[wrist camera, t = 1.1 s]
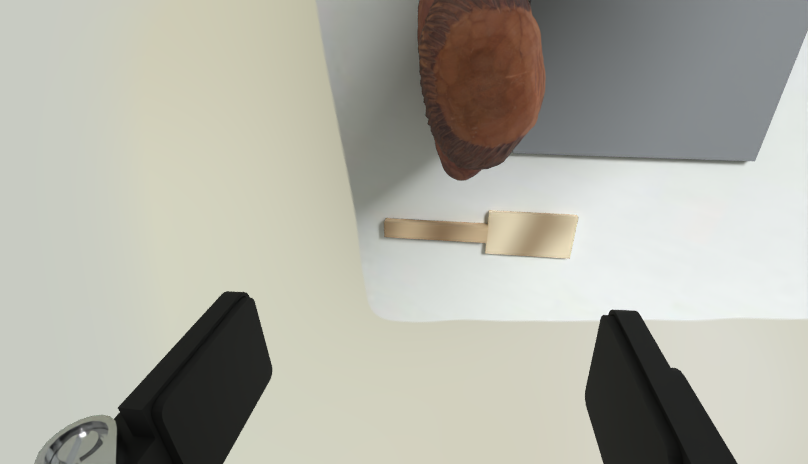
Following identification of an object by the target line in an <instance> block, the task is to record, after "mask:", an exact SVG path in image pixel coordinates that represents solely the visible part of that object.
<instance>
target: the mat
mask: <svg viewBox="0 0 808 464" xmlns="http://www.w3.org/2000/svg"><path fill="white" fill-rule="evenodd" d="M530 6H531V11H532V16H533V17H534V18H535V20H536V21H537V24H538V26H539V29H540V32H541V43H542V54H543V59H544V67H545V75H546V79H545V94H544V98H543V101H542V105H541V109H540V112H539V114H538V119H537V122H536V124H535V126H534V127H533V128H532V129H531V130H529V132H528V133H527V134H526V135H525V136H524V137H523V139H522V140H521V141H520V143H519V144H518V145H517V146H516V147H515V148H514V150H513V151H512V152H513V153H524V154H554V155H584V156H614V157H644V158H674V159H703V160H733V161H755V160H756V157H757V155H758V152H759V150H760V148H761V145H762V143H763V140H764V138H765V135H766V133H767V130H768V128H769V125H770V123H771V120H772V118H773V115H774V113H775V110H776V108H777V105H778V103H779V100H780V98H781V95H782V93H783V90H784V88H785V85H786V83H787V80H788V78H789V75H790V73H791V70H792V68H793V65H794V63H795V60H796V58H797V55H798V53H799V50H800V48H801V45H802V43H803V40H804V38H805V36H806V33H807V31H808V0H530Z"/></svg>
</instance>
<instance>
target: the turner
mask: <svg viewBox="0 0 808 464" xmlns="http://www.w3.org/2000/svg"><path fill="white" fill-rule="evenodd" d="M577 222H578V216H577V215H569V214H550V213H531V212H512V211H492V210H489V217H488V224H487V223H468V222H449V221H430V220H410V219H391V218H386V219H385V222H384V235H385V237H392V238H409V239H427V240H444V241H461V242H479V243H486V247H485V253H486V254H503V255H519V256H535V257H552V258H568V259H570V255H571V250H572V245H573V241H574V236H575V231H576V226H577Z"/></svg>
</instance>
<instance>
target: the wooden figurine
mask: <svg viewBox="0 0 808 464" xmlns="http://www.w3.org/2000/svg"><path fill="white" fill-rule="evenodd" d="M418 52H419V60H420V61H419V66H420V75H421V80H420V84H421V87H422V95H423V97H424V103H425V106H426V117H427V118H428V119H429V120H428V125H429V126H430V127H431V132H432V135H433V136H434V139H435V144H436V149H437V152H438V155H439V157H440V160H441V163H442V166H443V168H444V170H445V172H446V173H447V174H448V175H449V176H450V177H452V178H454V179H456V180H467V179H469V178H471V177H473V176H475V175H476V174H477V173H478V172H479V171H481V170H482V169H489V168H491V167H494V166H497V165H499V164H501V163H502V162H504V161H505V159H506V158H507V157H508V156H509V154H510V153H511V152H512V151H513V150H514V148H515V147H516V146H517V145H518V144H519V143H520V141H521V140H522V139H523V137H524V136H525V135H526V134H527V133H528V132H529V130H531V129H532V128H533V127H534V126H535V124H536V122H537V119H538V114H539V112H540V109H541V105H542V101H543V98H544V94H545V79H546V75H545V67H544V59H543V54H542V43H541V32H540V29H539V26H538V24H537V21H536V20H535V18H534V17H533V16H532V11H531V6H530V3H529V0H420V1H419V6H418Z"/></svg>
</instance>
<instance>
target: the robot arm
mask: <svg viewBox="0 0 808 464" xmlns="http://www.w3.org/2000/svg"><path fill="white" fill-rule="evenodd" d="M271 375H272V365H271V361H270V357H269V354H268V350H267V346H266V342H265V339H264V335H263V331H262V327H261V324H260V320H259V316H258V312H257V309H256V305H255V301H254V299H252V298H250V297H249V295H248V294H247V293H245V292H229V291H227V292H224V293H223V294H222V295H221V296H220V297H219V298H218V299H217V300H216V301H215V302H214V303H213V305H212V306H211V307H210V308H209V309H208V310H207V311H206V312H205V313H204V314H203V315H202V317H201V318H200V319H199V320H198V321H197V322H196V323H195V324H194V325H193V326H192V327H191V328H190V330H189V331H188V332H187V333H186V334H185V335H184V336H183V337H182V338H181V339H180V340H179V342H178V343H177V344H176V345H175V346H174V347H173V348H172V349H171V350H170V351H169V352H168V354H167V355H166V356H165V357H164V358H163V359H162V360H161V361H160V362H159V363H158V364H157V366H156V367H155V368H154V369H153V370H152V371H151V372H150V373H149V374H148V375H147V376H146V378H145V379H144V380H143V381H142V382H141V383H140V384H139V385H138V386H137V387H136V388H135V390H134V391H133V392H132V393H131V394H130V395H129V396H128V397H127V398H126V400H124V402H123V403H122V404H121V405H120V406H119V407H118V409H119V411H120V413H119V414H118V415H117V416H116V417H115V418H114V419H112V418H111V417H110V416H105V415H96V416H90V417H87V418H84V419H81V420H78V421H76V422H74V423H72V424H70V425H68V426H67V427H65V428H64V429H62V430H61V431H59V432H58V433H56V434H55V435H54V436H53V437H52V438H51V439H50V440H49V441H48V442H47V443H46V444H45V445H44V446H43V448H42V449H41V450H40V452H39V453H38V456H37V458H36V460H35V464H223V463H224V461H225V459H226V457H227V456H228V454H229V452H230V450H231V449H232V447H233V445H234V443H235V441H236V440H237V438H238V436H239V434H240V432H241V431H242V429H243V427H244V425H245V424H246V422H247V420H248V418H249V416H250V415H251V413H252V411H253V409H254V408H255V406H256V404H257V402H258V400H259V399H260V397H261V395H262V393H263V392H264V390H265V388H266V386H267V384H268V383H269V381H270V379H271ZM585 401H586V407H587V410H588V414H589V417H590V420H591V423H592V426H593V430H594V433H595V437H596V440H597V443H598V446H599V450H600V453H601V457H602V460H603V463H604V464H737V462H736V460H735V459H734V457H733V455H732V454H731V452H730V450H729V449H728V447H727V446H726V444H725V442H724V441H723V439H722V437H721V436H720V434H719V432H718V431H717V429H716V427H715V426H714V424H713V423H712V421H711V419H710V417H709V416H708V414H707V413H706V411H705V409H704V407H703V406H702V404H701V403H700V401H699V399H698V398H697V396H696V394H695V393H694V391H693V389H692V388H691V386H690V384H689V383H688V381H687V380H686V378H685V376H684V375H683V374H682V372H681V371H680V370H678V369H676V368H670V366H669V364H668V362H667V361H666V359H665V357H664V355H663V354H662V352H661V350H660V349H659V347H658V345H657V343H656V342H655V340H654V338H653V337H652V335H651V333H650V331H649V330H648V328H647V326H646V324H645V323H644V321H643V319H642V317H641V316H640V314H639V313H638V312H637V311H629V310H611V311H610V312H609V315H603V316H602V317H601V320H600V324H599V329H598V334H597V339H596V343H595V348H594V352H593V357H592V362H591V366H590V371H589V376H588V380H587V385H586V390H585Z"/></svg>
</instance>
